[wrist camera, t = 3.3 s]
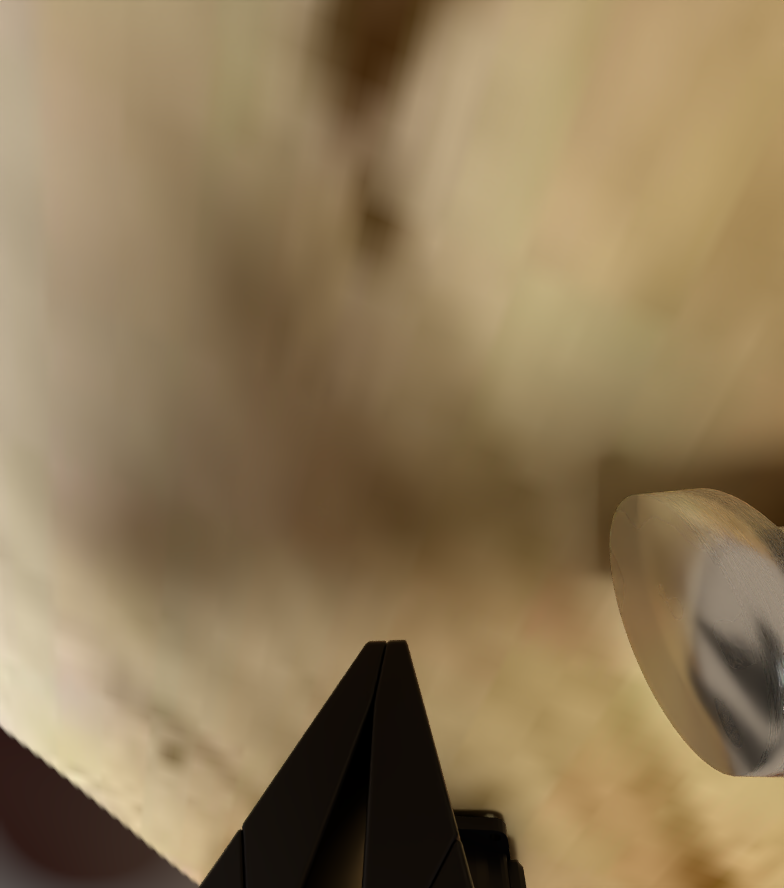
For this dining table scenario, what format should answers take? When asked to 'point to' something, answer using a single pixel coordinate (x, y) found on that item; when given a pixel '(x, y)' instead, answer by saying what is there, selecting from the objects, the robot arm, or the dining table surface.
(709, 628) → the pin
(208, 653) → the dining table surface
